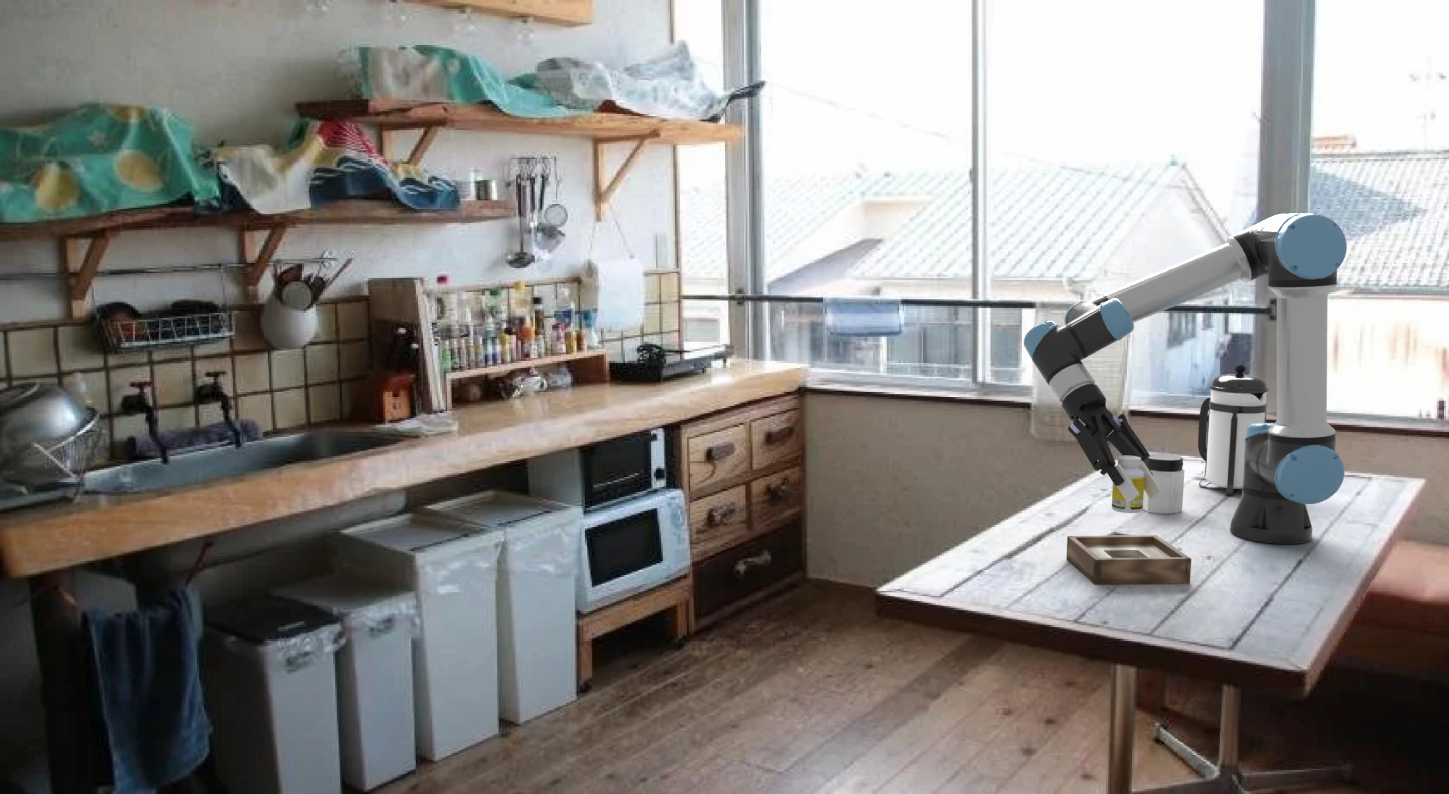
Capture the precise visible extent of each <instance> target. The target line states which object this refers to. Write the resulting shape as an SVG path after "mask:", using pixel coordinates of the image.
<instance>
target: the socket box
mask: <svg viewBox="0 0 1449 794" xmlns="http://www.w3.org/2000/svg"><path fill="white" fill-rule="evenodd" d="M1066 537H1067V539H1066V557H1065V558H1066V560H1067V561H1068V562H1069V563H1070V564H1071V565H1072V566H1073V567H1074V568H1076V569H1077V570H1078V571H1079V572H1080V573H1081V574H1082V575H1083V576H1084V577H1085V578H1087V579H1088V580H1089V581H1090V582H1091V583H1092V584H1094V585H1095V586H1096V585H1163V584H1164V585H1173V584H1175V585H1176V584H1179V585H1180V584H1181V585H1182V584H1185V585H1186V584H1191V574H1192V573H1191V571H1192V558H1191V557H1190V556H1188V555H1187V554H1185V553H1184V552H1182V551H1180V550H1179V549H1177V548H1176V547H1174V546H1173V545H1171V544H1170V543H1169V542H1167V541H1165V540H1164V539H1163V538H1162V537H1159V536H1158V535H1156V534H1155V535H1154V534H1151V535H1149V534H1146V535H1145V534H1142V535H1141V534H1139V535H1135V534H1134V535H1129V534H1127V535H1067V536H1066Z"/></svg>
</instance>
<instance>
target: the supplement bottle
mask: <svg viewBox="0 0 1449 794" xmlns="http://www.w3.org/2000/svg"><path fill="white" fill-rule="evenodd" d="M1119 464H1120V465H1121V466H1122V468H1123V469H1124V471H1125V472H1126V474H1127V475H1128V477H1129V479H1130V480H1131V482H1132V483H1133V485H1134V486H1135V488H1136V489H1137V491H1138V492H1139V494H1140V495H1138V496H1137V497H1136V498H1135V499H1134V500H1133V501H1132V502H1131V503H1127V502H1126V500H1125V498H1124V497H1123V495H1122V494H1121V492H1120V491H1119V489H1118V487H1117V486H1116V485H1115V484H1114V483H1113V482H1112V490H1111V491H1112V494H1111V509H1112V510H1113V511H1115V512H1118V513H1121V514H1122V513H1124V514H1138V513H1141V512H1142V511H1144V510H1143V496H1144V472H1143V471H1142V470H1141V469H1140V468H1139V466H1141V458H1140V457H1137V456H1128V455H1124V456H1123V455H1118V457H1117V465H1119Z"/></svg>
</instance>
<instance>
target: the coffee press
mask: <svg viewBox="0 0 1449 794" xmlns="http://www.w3.org/2000/svg"><path fill="white" fill-rule="evenodd" d="M1234 370H1235V373H1229V374H1228V373H1227V374H1221V375H1218V376H1216V377H1214V379H1212V381H1211V384H1209V390H1210V397H1207V398H1206V399H1204V401H1202V403H1201V406H1200V409H1199V418H1198V419H1199V420H1198V435H1197V447H1198V453H1199V455H1200V457H1201V459H1202V460H1204V461H1205V469H1204V476H1203V478H1202V479H1201V480H1199V482H1198V483H1199V484H1198V486H1199V487H1200V488H1202V489H1203V488H1206V487H1207V486H1208V485H1213V486H1217V487H1220V488H1226V493H1225V494H1226V496H1229V497H1233V495H1234V489H1237V490H1239V489H1240V490H1242V489H1243V471H1244V454H1245V437H1246V431H1247V427H1248V426H1249V425H1250V424H1253V423H1267V409H1268V403H1267V394H1268V393H1269V391H1270V388H1269V386H1267V382H1266V381H1265V379H1263V378H1261V377H1260V376H1257V375H1252V374H1246V373H1245V374H1244V372H1245V371H1246V366H1245V365H1244V364H1242V363H1238V364H1236V366H1235V368H1234ZM1204 479H1206V481H1207V482H1208V483H1206V484H1205V485H1201V483H1202V481H1203V480H1204Z"/></svg>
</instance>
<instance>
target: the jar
mask: <svg viewBox="0 0 1449 794" xmlns="http://www.w3.org/2000/svg"><path fill="white" fill-rule="evenodd" d="M1149 454H1150V456H1149V457H1148V458H1147V459H1146V460H1145V463H1146V465H1147V466H1148V468H1149V469H1150V471H1151V472H1152V474H1153V477H1154V478H1155V480H1156V481H1157V483H1158V484H1159V486H1160V487H1161V489H1162V491H1161V492H1160V493H1159V494H1158V495H1157V496H1156V497H1154V498H1153V499H1150V498H1149V496H1148V495H1147V493H1146V492H1145V490H1144V496H1143V510H1142V511H1145V512H1146V513H1152V514H1158V515H1159V514H1160V515H1161V514H1162V515H1168V516H1169V515H1172V514H1173V515H1174V514H1178V513H1182V512H1183V502H1184V501H1183V500H1184V487H1185V486H1184V483H1185V470H1184V468H1183V466H1184V458H1183V456H1180V455H1179V454H1178V455H1177V454H1173V453H1163V452H1154V453H1153V452H1151V453H1149Z"/></svg>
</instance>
